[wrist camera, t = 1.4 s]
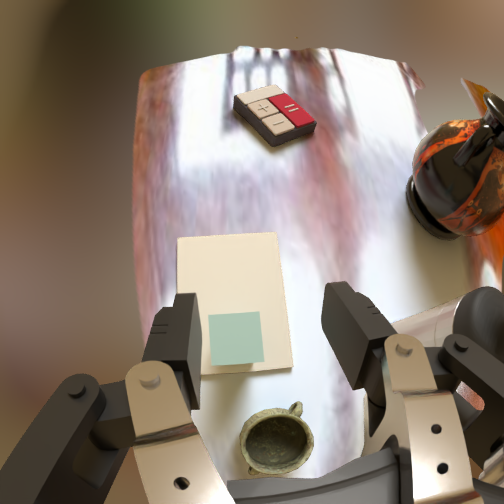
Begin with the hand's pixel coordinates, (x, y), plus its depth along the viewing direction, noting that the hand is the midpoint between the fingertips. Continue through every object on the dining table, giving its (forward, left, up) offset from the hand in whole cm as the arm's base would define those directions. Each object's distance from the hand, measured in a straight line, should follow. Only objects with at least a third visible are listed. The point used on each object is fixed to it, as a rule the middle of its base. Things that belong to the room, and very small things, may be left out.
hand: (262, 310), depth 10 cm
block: (+1, +1, -27) cm, 27 cm away
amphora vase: (-18, -43, -28) cm, 55 cm away
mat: (+5, -4, -28) cm, 29 cm away
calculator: (+21, -40, -29) cm, 54 cm away
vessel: (-10, +8, -28) cm, 31 cm away
